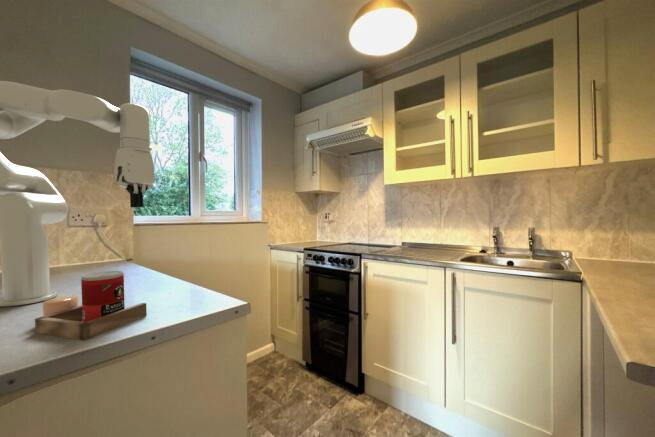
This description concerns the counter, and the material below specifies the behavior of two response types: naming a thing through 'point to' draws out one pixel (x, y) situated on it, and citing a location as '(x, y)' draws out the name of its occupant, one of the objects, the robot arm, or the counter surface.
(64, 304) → the peach egg shape
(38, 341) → the counter surface
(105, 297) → the canned food
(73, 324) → the wooden u-shaped frame
